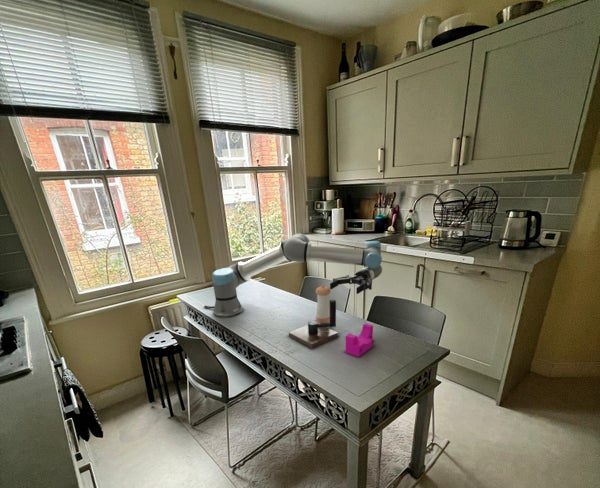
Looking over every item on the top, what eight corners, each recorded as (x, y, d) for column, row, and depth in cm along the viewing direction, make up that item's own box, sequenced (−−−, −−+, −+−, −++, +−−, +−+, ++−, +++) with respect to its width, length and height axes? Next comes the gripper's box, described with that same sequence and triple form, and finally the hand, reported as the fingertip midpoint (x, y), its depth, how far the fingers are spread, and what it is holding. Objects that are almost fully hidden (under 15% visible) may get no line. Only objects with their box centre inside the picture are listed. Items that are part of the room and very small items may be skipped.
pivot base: (288, 336, 146) (288, 331, 145) (314, 325, 155) (314, 321, 154) (311, 348, 134) (311, 343, 133) (338, 336, 143) (338, 332, 142)
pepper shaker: (333, 321, 158) (333, 285, 150) (324, 326, 153) (323, 289, 145) (322, 318, 162) (321, 282, 154) (313, 322, 158) (312, 286, 150)
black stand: (308, 334, 142) (307, 303, 136) (308, 330, 146) (306, 300, 140) (336, 333, 141) (336, 302, 135) (335, 329, 145) (335, 298, 139)
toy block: (358, 356, 126) (358, 340, 123) (345, 352, 130) (345, 335, 127) (377, 342, 136) (378, 327, 133) (364, 338, 140) (365, 323, 137)
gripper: (387, 287, 154) (368, 300, 138) (342, 280, 167) (320, 292, 152) (388, 272, 150) (369, 284, 135) (342, 266, 164) (320, 277, 149)
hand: (343, 288), depth 143 cm, fingers open, 13 cm apart
